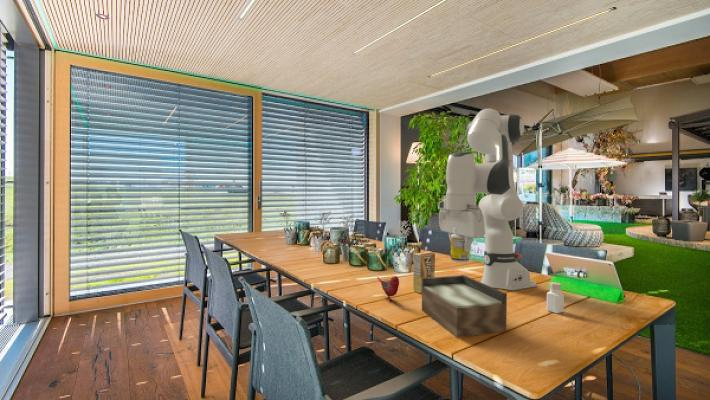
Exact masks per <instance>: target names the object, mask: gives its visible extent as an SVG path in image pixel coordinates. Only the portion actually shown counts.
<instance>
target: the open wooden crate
mask: <svg viewBox="0 0 710 400" xmlns="http://www.w3.org/2000/svg"><path fill="white" fill-rule="evenodd" d="M507 295H508V294H507V293H506V292H504V291H501V290H499V289H498V288H493V287H490V286H488V285H486V284H483V283H481V281H479V280H476V279H474V278H472V277H469V276H467V275H465V274H462V275H448V276H436V277H431V278H422V293H421V311H422V312H423V313H425V315H427V316H428V317H429V318H431V319H432V320H433V321H435V322H436V323H437V324H439V325H440V326H442V327H443V328H444V329H445V330H447V331H448V332H449V333H451V334H452V336H454V337H456V338H463V337H470V336H481V335H486V334H487V335H489V334H495V333H503V332H507V314H508V313H507V310H508V309H507V304H508V303H507V302H508V301H507V298H508V297H507Z"/></svg>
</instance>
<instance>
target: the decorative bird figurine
mask: <svg viewBox="0 0 710 400" xmlns="http://www.w3.org/2000/svg"><path fill="white" fill-rule="evenodd" d="M377 279H378V281H379V282H380V284H381V288H382V290H383V291H384V294H386V295H387V297H386V299H387V300H389V301H390V302H394V300H393V299H392V298H391V297H394V296H396V295H397V293H398V290H399V286H400V279H399V278H398V276H396V275H395V276H392V277H391V278H390V279H386V280H382V279H381V278H380V277H379V276H377Z"/></svg>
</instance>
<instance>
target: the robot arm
mask: <svg viewBox="0 0 710 400" xmlns="http://www.w3.org/2000/svg"><path fill="white" fill-rule="evenodd" d="M465 129H466V130H465V137H466V141H467V143H468V146H469V148H471V149H472V150H473V151H475V152H476V153H479V154H483V155H484V154H485V157H484V158H485V159H484V161H485V163H476V157H475V153H474V152H472V151H458V152H457V151H456V152H452V153H450V154H449V155H448V157H447V163H446V169H445V170H446V172H445V173H446V174H445V182H446V188H447V189H446V192H445V198H443V199H442V200H440V201H439V202H438V205H437V207H438V209H439V213H438V223H439V228H440V229H439V230H440V231H442V232H444V233H448V239H449V241H450V242H451V235H452V234H454V233H453V230H454V228H456V229H457V234H458V235H462V236H464V239H465V244H464V245H463V251H470V252H471V250H472V249H471V248H472V247H471V246H472V244H473V242H474V239H482V238H484V237H485V238H484V239H485V240H484V241H485V243H484V244H485V246H484V251H483V261H484V267H483V273H482V277H481V280H480V282H481V283H483V284H486V285H488V286H490V287H492V288H495V289H500V290H501V289H502V290H508V291H518V290H523V289H530V288H535V287H537V283H536V282H535V281H533V280H531V273H530V272H529V271H530V270H528V269H527V268H526V267H524V266H523V265H522V264H521V263H520V262H518V261H517V259H519V260H520V259H522V257H523V256H522V254H521V253H519V252H518V253H514V233H513V232H512V230H511V228H510V225H509V224H510V223H509V221H510V222H511V221H514V220H517V219H519V218H520V217H522V215H523V213H524V203H523V202H522V200H521V199H520V197H519V195H518V192H517V187H516V184H515V178H514V154H513V146H514V145H515V144H516V143H517V142H518V141H520V139H521V138H522V137H523V134H524V131H525V123H524V121H523V117H521V116H520V115H518V114H509V115H507V114H506V115H505V114H504V115H501V114H500V113H499V111H497V110H496V109H494V108H490V107H489V108H483V109H481V110H480V111H479V112H477V114H476V115H475V116H474V118H473V119H472V121H469V123H468V124H467V125H466V128H465ZM477 194H481V195H482V194H488V195H485V196H483V197H482V198H481V199H480V200H479V203H478V205H477Z"/></svg>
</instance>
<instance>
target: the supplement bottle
mask: <svg viewBox="0 0 710 400" xmlns="http://www.w3.org/2000/svg"><path fill="white" fill-rule="evenodd" d="M453 233H454V234H452V235H451V241H450V260H451V261H452V262H454V263H460V264H461V263H463V264H464V263H468V262H470V256H471V255H470V252H471V250H470V251H463V245H464V244H465V239H464V236H462V235H458V234H457V229H456V228H454V230H453Z"/></svg>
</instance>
